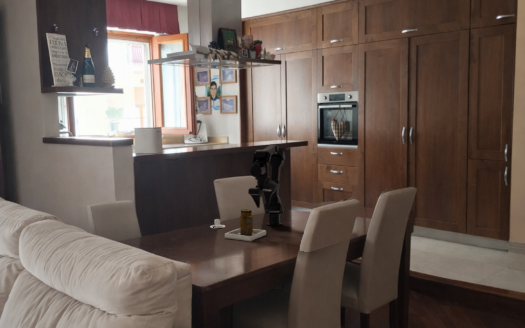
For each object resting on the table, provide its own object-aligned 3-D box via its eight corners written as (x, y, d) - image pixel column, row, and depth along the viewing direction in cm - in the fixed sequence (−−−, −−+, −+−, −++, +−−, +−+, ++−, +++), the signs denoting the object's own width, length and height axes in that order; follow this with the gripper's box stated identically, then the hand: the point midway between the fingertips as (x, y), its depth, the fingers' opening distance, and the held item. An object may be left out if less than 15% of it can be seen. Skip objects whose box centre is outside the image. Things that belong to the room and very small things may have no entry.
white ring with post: (222, 229, 265) (222, 221, 264) (207, 229, 266) (207, 221, 266) (227, 225, 273) (226, 218, 273) (212, 225, 275) (212, 218, 274)
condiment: (252, 232, 251) (252, 208, 250) (255, 236, 243) (255, 211, 242) (237, 233, 250) (237, 209, 249) (240, 237, 241) (239, 212, 240)
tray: (241, 231, 256) (241, 227, 256) (266, 234, 249) (266, 230, 249) (224, 238, 244) (224, 233, 244) (250, 241, 236) (250, 236, 236)
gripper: (267, 177, 240) (267, 210, 242) (286, 173, 256) (286, 204, 258) (247, 176, 246) (247, 208, 247) (266, 173, 262) (267, 203, 263)
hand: (263, 206), depth 254 cm, fingers open, 9 cm apart
